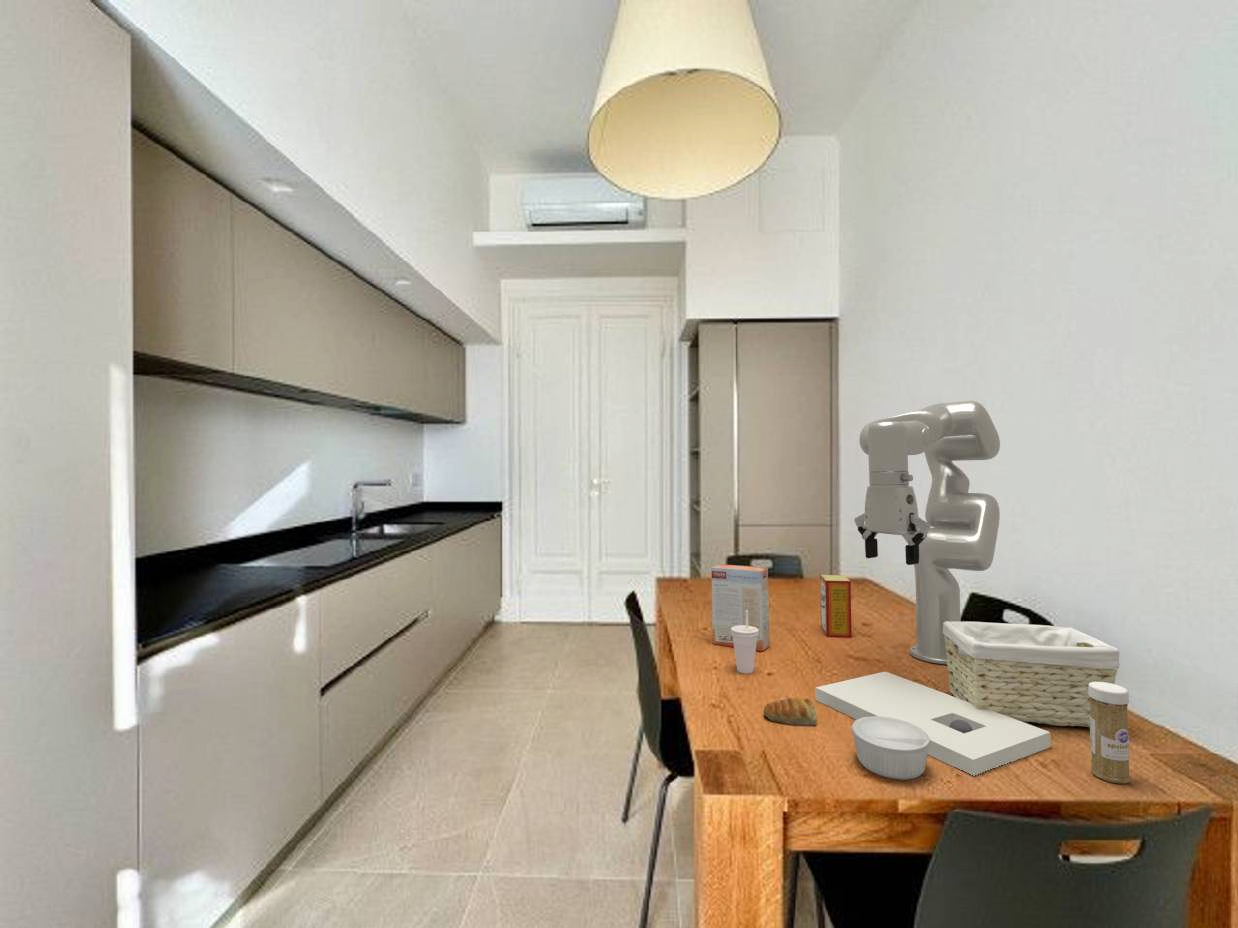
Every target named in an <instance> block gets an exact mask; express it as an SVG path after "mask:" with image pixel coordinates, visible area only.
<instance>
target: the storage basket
mask: <svg viewBox="0 0 1238 928" xmlns="http://www.w3.org/2000/svg"><path fill="white" fill-rule="evenodd" d="M943 634H944V635H945V636H944V639H945V643H946V653H947V662H948V665H947V671H948V675H947V676H948V684H949V685H948V688H949V691H950V693H951V695H953V697H956V698H959V699H961V700H964V701H967V702H969V703H972V704H973V705H974V706H975V708H977V709H985V710H991V711H994V712H997V713H999V714H1002V715H1005V716H1008V717H1010V718H1013V719H1016V720H1018V721H1021V722H1024V723H1037V724H1044V725H1045V724H1046V725H1049V726H1059V727H1066V726H1070V727H1075V726H1078V727H1085V728H1090V699H1089V697H1090V696H1089V695H1088V685H1089V683H1091V682H1106V683H1111V684H1115V683H1116V676H1117V672H1118V670H1119V668H1120V653H1121V652H1120V651H1119V649H1118V648H1117V647H1115V646H1112V645H1110V644H1108V643H1106V642H1104V641H1102V640H1099V639H1098V638H1096V637H1094V636H1091V635H1089V634H1086V633H1084V632H1081V631H1080V630H1078V629H1076V628H1073V627H1064V626H1063V627H1062V626H1054V625H1045V624H1044V625H1043V624H1029V623H1028V624H1027V623H1025V624H1024V623H1002V622H1001V623H1000V622H985V621H983V622H982V621H960V622H956V621H953V622H949V621H946V622H944V623H943Z"/></svg>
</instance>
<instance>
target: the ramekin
mask: <svg viewBox="0 0 1238 928" xmlns="http://www.w3.org/2000/svg"><path fill="white" fill-rule="evenodd" d="M851 733H852V734H851V735H852V736H853V740H854V746H855V752H856V753H855V754H856V756H857V760H858V761H859V762H860V763H861V764H862V766H863V767H864V768H866V769H867V770H868V771H870V772H872V773H874V774H876V775H879V776H881V777H884V778H888V779H894V780H912V779H916V778H918V777H920V776H921V775H922V774H923V773H924V772H925V769H926V765H927V762H928V761H927V760H928V749H929V747H930V738H929V736H928V735H927V733H926V732H925V731H923V730H922V729H921V728H919V727H917V726H915V725H913V724H911V723H909V722H906V721H903V720H899V719H895V718H889V717H877V716H874V717H863V718H860V719H858V720H856V719H855V721H854V722H853V723H852V725H851Z"/></svg>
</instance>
